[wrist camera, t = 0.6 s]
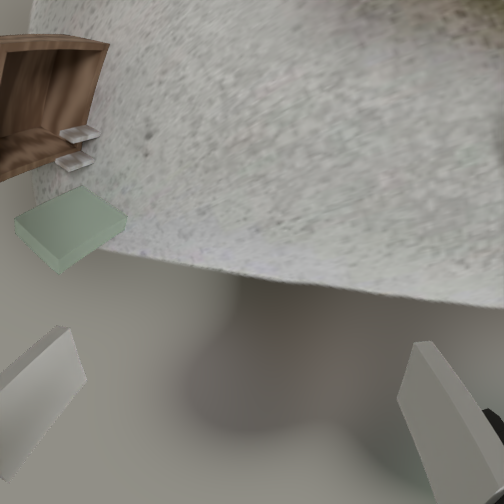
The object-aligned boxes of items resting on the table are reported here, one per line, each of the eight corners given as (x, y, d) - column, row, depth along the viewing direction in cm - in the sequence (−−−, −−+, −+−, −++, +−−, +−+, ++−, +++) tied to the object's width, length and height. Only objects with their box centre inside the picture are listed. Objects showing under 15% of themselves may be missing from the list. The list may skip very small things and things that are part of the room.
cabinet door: (80, 199, 50) (15, 233, 36) (82, 185, 48) (14, 218, 35) (124, 229, 49) (58, 275, 36) (127, 216, 48) (58, 259, 34)
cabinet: (41, 130, 46) (-41, 158, 29) (64, 34, 35) (-28, 39, 18) (93, 162, 45) (-2, 203, 28) (126, 48, 34) (13, 46, 17)
